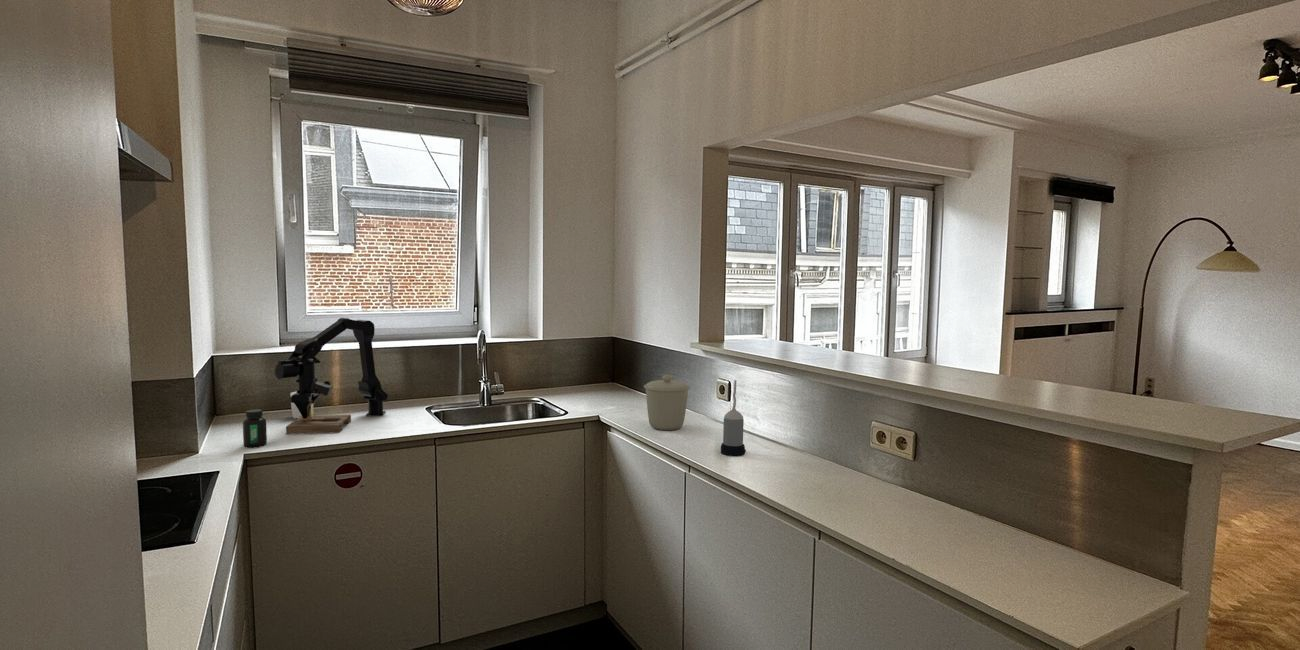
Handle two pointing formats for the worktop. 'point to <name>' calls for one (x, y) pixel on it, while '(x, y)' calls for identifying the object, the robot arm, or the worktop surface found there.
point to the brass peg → (309, 413)
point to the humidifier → (733, 431)
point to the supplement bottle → (254, 429)
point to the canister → (666, 403)
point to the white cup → (295, 408)
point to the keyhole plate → (319, 424)
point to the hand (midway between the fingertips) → (307, 416)
